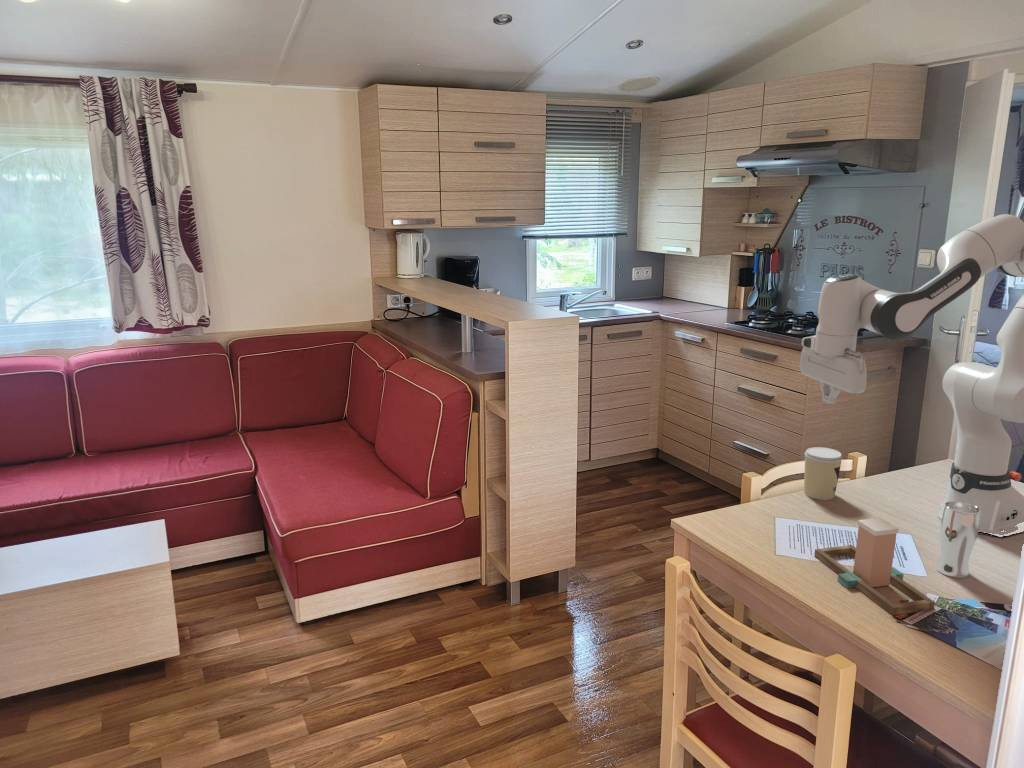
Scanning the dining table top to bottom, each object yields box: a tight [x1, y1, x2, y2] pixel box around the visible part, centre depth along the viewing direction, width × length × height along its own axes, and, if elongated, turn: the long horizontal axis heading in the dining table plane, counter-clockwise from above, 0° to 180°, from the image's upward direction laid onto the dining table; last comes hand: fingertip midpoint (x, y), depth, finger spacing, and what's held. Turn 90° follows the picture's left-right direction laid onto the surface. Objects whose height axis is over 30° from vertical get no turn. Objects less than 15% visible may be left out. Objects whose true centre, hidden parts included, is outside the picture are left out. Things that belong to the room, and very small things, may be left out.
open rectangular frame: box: [813, 544, 936, 616], centre depth 157 cm, size 13×25×2 cm, turn 13°
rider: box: [852, 517, 899, 588], centre depth 155 cm, size 5×5×13 cm
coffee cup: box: [803, 446, 843, 501], centre depth 201 cm, size 9×9×12 cm
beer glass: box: [935, 501, 981, 579], centre depth 159 cm, size 7×7×15 cm
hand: (829, 402), depth 177 cm, fingers closed
